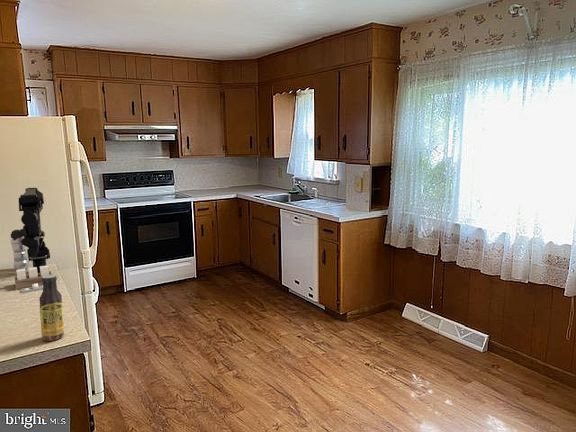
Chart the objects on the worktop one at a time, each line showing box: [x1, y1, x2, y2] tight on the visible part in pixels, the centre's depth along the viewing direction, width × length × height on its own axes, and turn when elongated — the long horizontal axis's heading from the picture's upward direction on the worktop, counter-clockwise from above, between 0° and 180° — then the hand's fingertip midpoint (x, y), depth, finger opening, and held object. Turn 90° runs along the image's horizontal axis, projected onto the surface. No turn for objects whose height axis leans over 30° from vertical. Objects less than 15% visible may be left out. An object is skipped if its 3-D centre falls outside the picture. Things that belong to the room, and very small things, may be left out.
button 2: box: [40, 264, 50, 276], centre depth 192 cm, size 3×3×5 cm
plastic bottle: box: [10, 228, 30, 271], centre depth 213 cm, size 6×7×20 cm
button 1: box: [15, 269, 27, 280], centre depth 187 cm, size 3×3×5 cm
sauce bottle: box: [39, 274, 65, 342], centre depth 133 cm, size 6×6×20 cm
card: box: [20, 283, 43, 294], centre depth 183 cm, size 4×10×2 cm, turn 123°
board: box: [14, 270, 53, 291], centre depth 190 cm, size 10×14×4 cm
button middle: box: [27, 266, 38, 278], centre depth 189 cm, size 3×3×5 cm
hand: (35, 256), depth 196 cm, fingers open, 7 cm apart
